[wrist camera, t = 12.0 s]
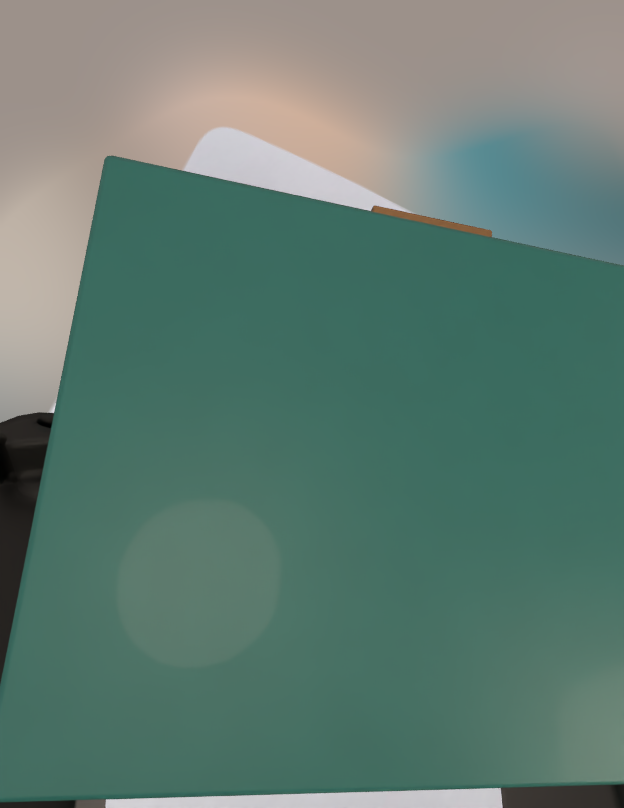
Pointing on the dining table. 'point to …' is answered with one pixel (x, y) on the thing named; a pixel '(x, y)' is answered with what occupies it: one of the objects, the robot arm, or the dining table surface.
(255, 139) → the dining table surface
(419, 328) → the teal packet
